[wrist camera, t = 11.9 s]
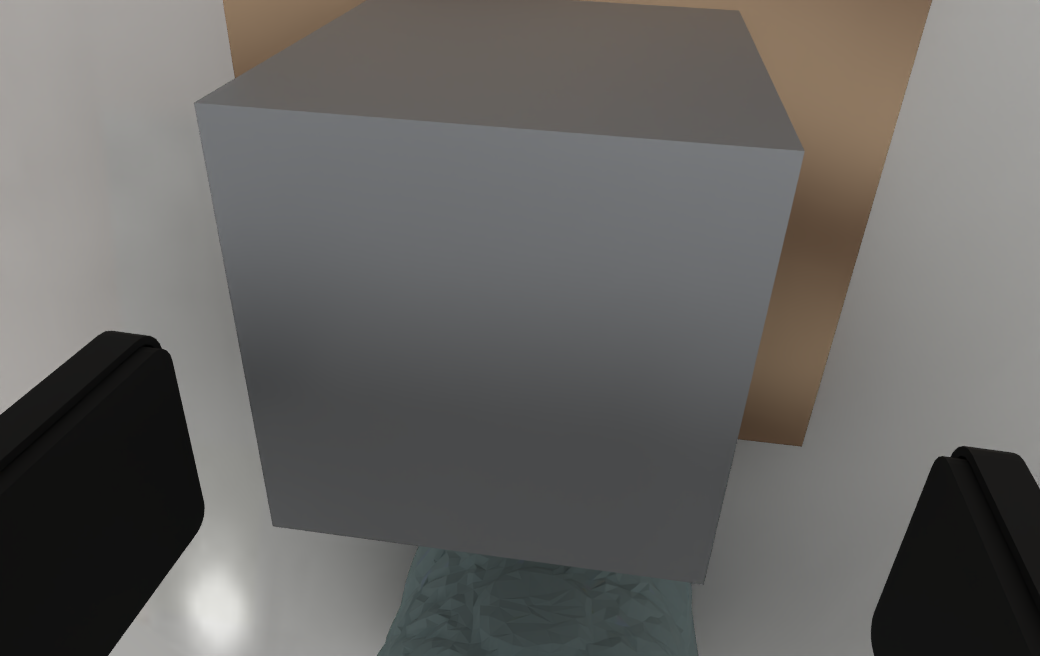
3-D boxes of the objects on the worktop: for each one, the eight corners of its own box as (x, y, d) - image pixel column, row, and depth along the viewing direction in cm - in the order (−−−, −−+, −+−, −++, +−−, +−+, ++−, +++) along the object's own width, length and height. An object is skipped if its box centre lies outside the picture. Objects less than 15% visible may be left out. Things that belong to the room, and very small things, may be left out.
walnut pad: (795, 422, 21) (801, 446, 21) (296, 365, 23) (282, 385, 22) (970, -202, 14) (991, -204, 13) (212, -228, 15) (186, -232, 15)
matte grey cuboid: (739, 10, 15) (804, 151, 9) (686, 318, 19) (703, 585, 12) (386, -12, 16) (193, 102, 9) (402, 289, 20) (272, 526, 13)
